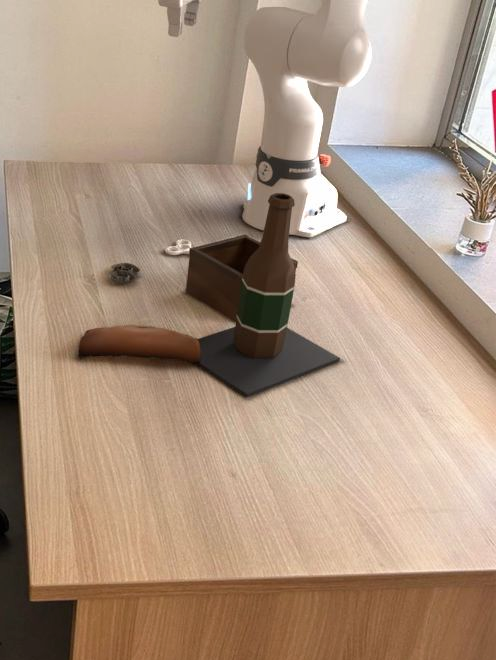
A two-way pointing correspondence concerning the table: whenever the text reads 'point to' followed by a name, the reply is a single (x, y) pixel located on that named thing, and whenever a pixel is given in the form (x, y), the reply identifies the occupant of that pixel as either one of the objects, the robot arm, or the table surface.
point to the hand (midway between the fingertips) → (182, 30)
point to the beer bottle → (267, 286)
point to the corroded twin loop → (123, 273)
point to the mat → (260, 362)
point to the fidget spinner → (179, 247)
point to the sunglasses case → (139, 343)
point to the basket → (220, 272)
